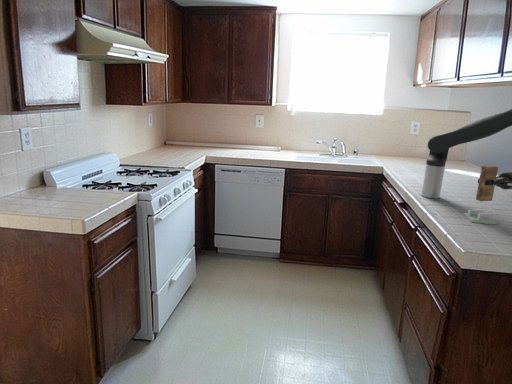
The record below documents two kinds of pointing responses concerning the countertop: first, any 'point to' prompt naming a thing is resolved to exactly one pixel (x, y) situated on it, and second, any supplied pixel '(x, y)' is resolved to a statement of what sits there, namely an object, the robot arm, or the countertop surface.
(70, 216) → the countertop surface
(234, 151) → the countertop surface
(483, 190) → the door
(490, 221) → the hinge base
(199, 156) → the countertop surface
